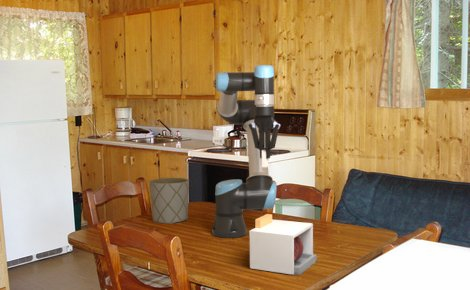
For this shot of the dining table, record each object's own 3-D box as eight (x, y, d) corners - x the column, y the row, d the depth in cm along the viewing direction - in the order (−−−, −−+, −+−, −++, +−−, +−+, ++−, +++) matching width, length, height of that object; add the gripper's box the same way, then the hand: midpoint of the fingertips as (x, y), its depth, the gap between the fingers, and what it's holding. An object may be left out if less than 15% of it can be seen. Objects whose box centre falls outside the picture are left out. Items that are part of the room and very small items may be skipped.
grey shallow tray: (258, 269, 186) (258, 262, 186) (278, 256, 201) (278, 249, 201) (299, 275, 179) (299, 267, 179) (316, 261, 194) (316, 254, 194)
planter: (169, 215, 276) (168, 176, 275) (197, 219, 265) (196, 179, 263) (142, 222, 261) (141, 181, 259) (171, 227, 250) (170, 184, 248)
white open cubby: (250, 268, 186) (249, 222, 185) (272, 253, 203) (272, 211, 202) (293, 274, 179) (292, 226, 177) (312, 259, 196) (312, 215, 194)
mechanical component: (301, 270, 183) (301, 242, 181) (272, 269, 185) (271, 241, 183) (304, 256, 195) (304, 230, 193) (277, 255, 197) (276, 229, 195)
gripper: (244, 106, 206) (245, 167, 208) (276, 105, 200) (276, 168, 202) (253, 105, 213) (254, 165, 215) (283, 105, 207) (284, 166, 209)
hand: (265, 166), depth 209 cm, fingers closed
